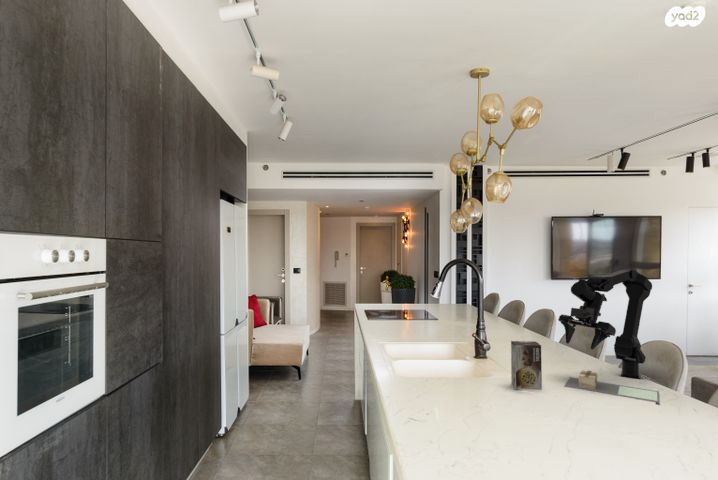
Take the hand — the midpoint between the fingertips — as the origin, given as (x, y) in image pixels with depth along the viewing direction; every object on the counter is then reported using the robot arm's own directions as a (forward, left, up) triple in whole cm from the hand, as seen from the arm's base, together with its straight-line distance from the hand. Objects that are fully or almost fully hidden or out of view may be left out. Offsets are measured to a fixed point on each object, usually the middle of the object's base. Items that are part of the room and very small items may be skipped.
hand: (579, 346), depth 154 cm
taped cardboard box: (-2, +3, -14) cm, 14 cm away
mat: (-2, +10, -15) cm, 18 cm away
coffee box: (+13, -15, -15) cm, 25 cm away
